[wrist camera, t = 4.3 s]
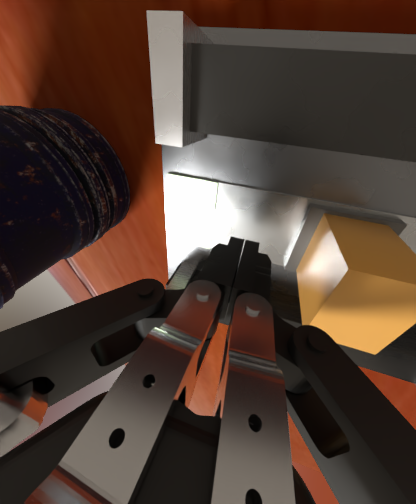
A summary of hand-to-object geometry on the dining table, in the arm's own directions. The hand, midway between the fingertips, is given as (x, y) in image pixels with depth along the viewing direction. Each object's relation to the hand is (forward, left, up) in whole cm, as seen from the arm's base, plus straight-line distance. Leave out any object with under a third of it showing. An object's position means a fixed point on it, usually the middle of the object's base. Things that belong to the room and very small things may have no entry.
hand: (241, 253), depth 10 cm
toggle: (-5, 0, -3) cm, 6 cm away
